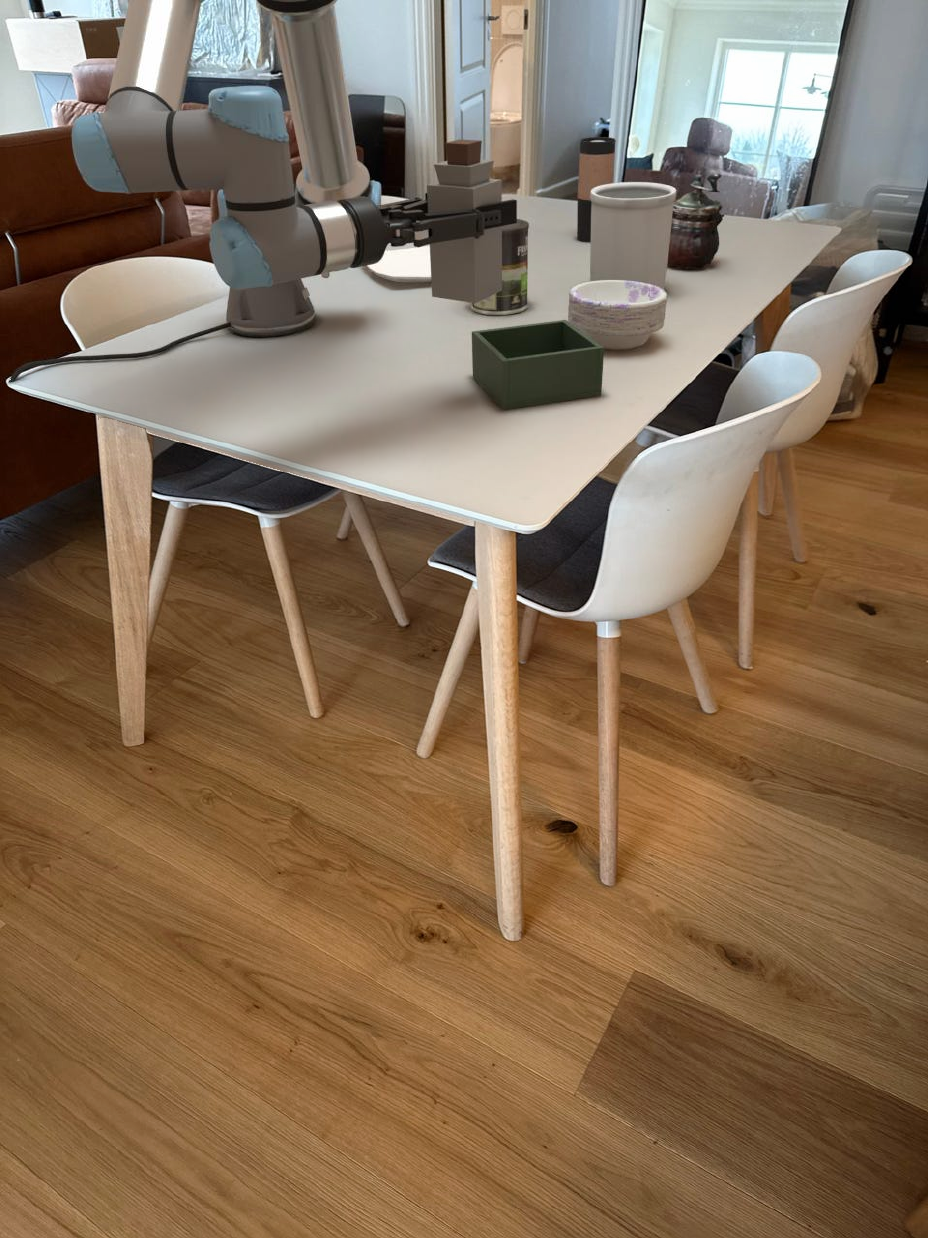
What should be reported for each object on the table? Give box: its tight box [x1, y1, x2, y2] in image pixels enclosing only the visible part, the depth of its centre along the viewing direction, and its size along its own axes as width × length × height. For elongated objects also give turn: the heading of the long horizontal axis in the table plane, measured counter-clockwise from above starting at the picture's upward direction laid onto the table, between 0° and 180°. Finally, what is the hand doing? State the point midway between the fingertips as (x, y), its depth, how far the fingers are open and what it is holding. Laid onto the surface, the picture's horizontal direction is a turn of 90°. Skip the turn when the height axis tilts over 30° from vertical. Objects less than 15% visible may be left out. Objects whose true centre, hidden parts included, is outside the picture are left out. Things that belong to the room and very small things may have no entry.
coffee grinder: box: [667, 173, 725, 270], centre depth 176 cm, size 13×15×18 cm
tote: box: [471, 319, 605, 411], centre depth 128 cm, size 15×14×7 cm
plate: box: [366, 244, 431, 284], centre depth 184 cm, size 24×24×3 cm
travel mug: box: [576, 136, 617, 243], centre depth 198 cm, size 8×8×20 cm
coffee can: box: [470, 218, 530, 316], centre depth 158 cm, size 10×10×14 cm
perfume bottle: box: [426, 139, 503, 304], centre depth 115 cm, size 7×7×18 cm
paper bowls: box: [567, 280, 668, 351], centre depth 143 cm, size 15×15×8 cm
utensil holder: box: [589, 181, 677, 291], centre depth 163 cm, size 15×15×18 cm
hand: (495, 206), depth 117 cm, fingers closed on perfume bottle, 7 cm apart
